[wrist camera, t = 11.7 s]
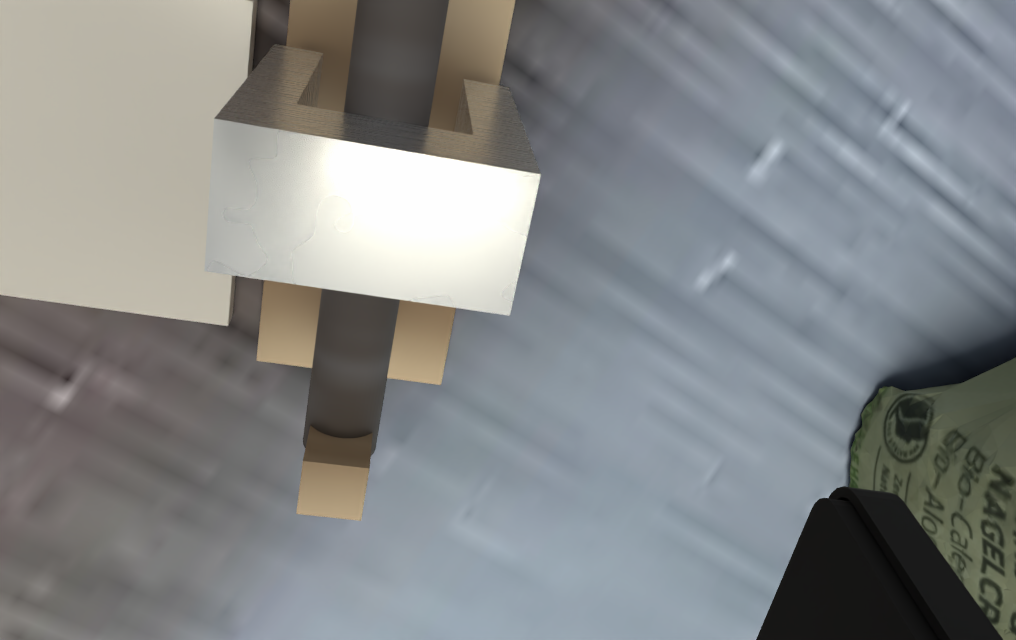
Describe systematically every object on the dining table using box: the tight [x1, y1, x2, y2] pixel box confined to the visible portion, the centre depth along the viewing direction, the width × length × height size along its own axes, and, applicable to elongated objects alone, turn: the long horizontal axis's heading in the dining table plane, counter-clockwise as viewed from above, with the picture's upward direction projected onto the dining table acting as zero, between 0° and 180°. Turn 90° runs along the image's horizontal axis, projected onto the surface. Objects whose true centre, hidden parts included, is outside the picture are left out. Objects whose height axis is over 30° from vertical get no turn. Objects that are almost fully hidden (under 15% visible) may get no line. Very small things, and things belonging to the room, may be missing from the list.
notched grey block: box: [204, 44, 541, 316], centre depth 21 cm, size 6×3×8 cm, turn 79°
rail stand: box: [257, 0, 515, 521], centre depth 23 cm, size 18×6×10 cm, turn 169°
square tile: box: [0, 0, 258, 326], centre depth 27 cm, size 10×10×1 cm
